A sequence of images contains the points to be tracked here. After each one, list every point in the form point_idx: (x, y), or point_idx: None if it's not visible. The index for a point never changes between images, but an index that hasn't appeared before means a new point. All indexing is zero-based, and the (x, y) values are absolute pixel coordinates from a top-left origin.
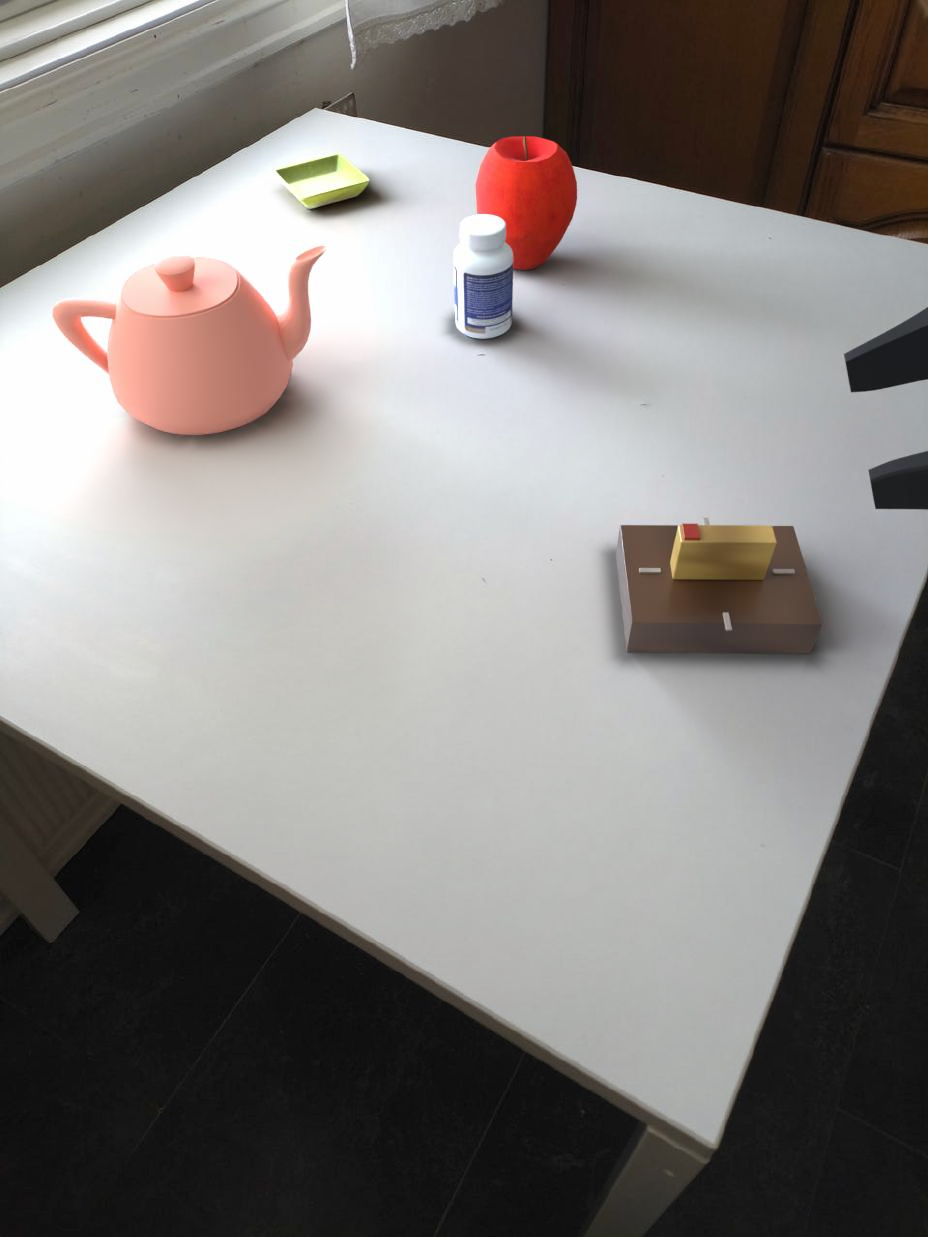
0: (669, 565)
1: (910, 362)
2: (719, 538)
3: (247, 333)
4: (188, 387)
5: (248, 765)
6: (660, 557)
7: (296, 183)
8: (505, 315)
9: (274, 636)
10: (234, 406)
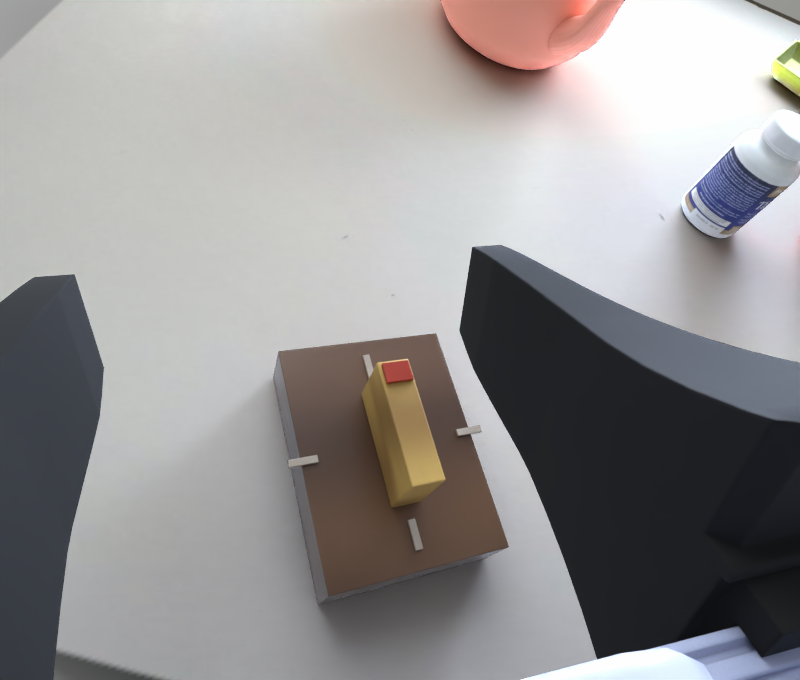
0: None
1: (527, 388)
2: (397, 409)
3: None
4: None
5: (77, 82)
6: None
7: (796, 64)
8: (720, 219)
9: (231, 89)
10: (472, 18)
